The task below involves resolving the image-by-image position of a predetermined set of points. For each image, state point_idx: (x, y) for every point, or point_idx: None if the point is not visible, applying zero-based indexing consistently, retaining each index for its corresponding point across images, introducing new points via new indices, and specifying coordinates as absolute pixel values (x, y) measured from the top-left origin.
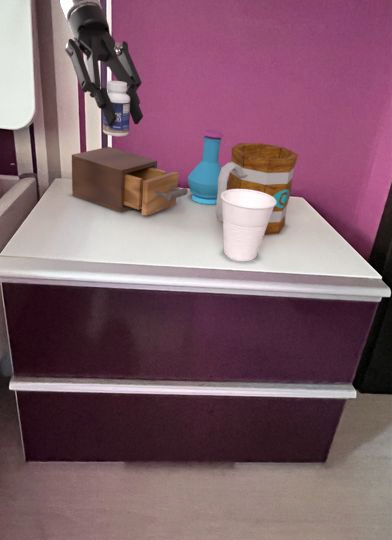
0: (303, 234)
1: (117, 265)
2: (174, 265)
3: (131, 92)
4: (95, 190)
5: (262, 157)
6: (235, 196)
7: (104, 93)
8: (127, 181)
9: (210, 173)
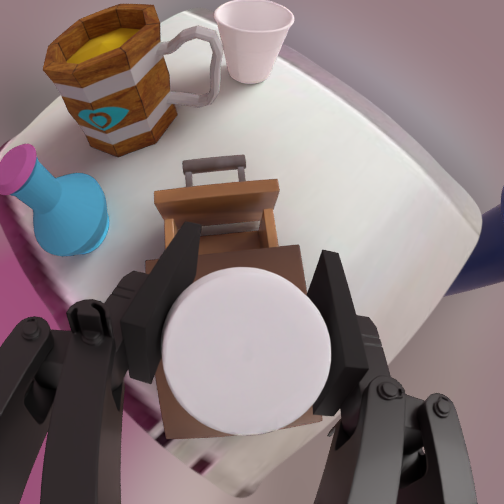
0: None
1: (397, 140)
2: (340, 101)
3: (152, 300)
4: None
5: (144, 13)
6: (238, 36)
7: (359, 337)
8: None
9: (78, 182)
